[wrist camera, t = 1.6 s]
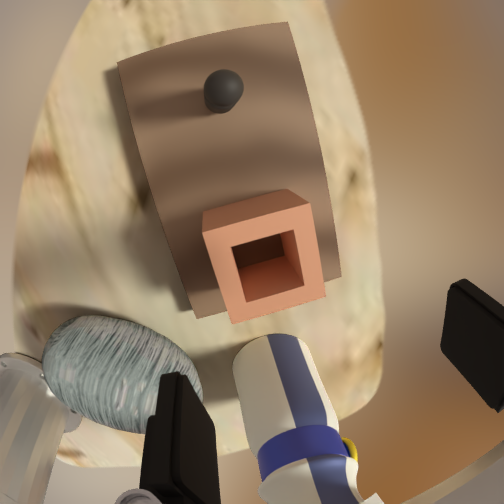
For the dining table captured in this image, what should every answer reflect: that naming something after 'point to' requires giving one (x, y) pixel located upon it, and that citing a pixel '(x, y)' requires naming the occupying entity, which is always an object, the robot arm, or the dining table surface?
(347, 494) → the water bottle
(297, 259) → the orange hollow square block
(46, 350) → the grey streaked oval part
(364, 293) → the dining table surface
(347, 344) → the dining table surface
